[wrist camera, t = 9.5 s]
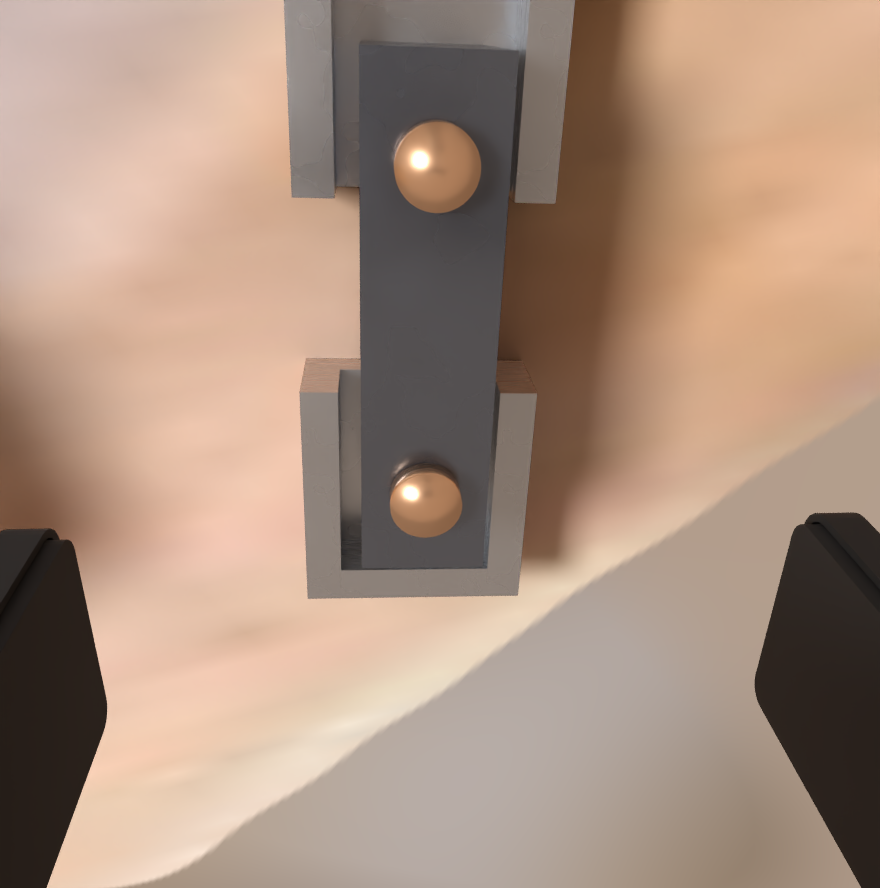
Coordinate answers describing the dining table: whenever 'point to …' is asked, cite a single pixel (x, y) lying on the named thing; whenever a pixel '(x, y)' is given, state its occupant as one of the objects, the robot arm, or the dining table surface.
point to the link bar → (430, 293)
